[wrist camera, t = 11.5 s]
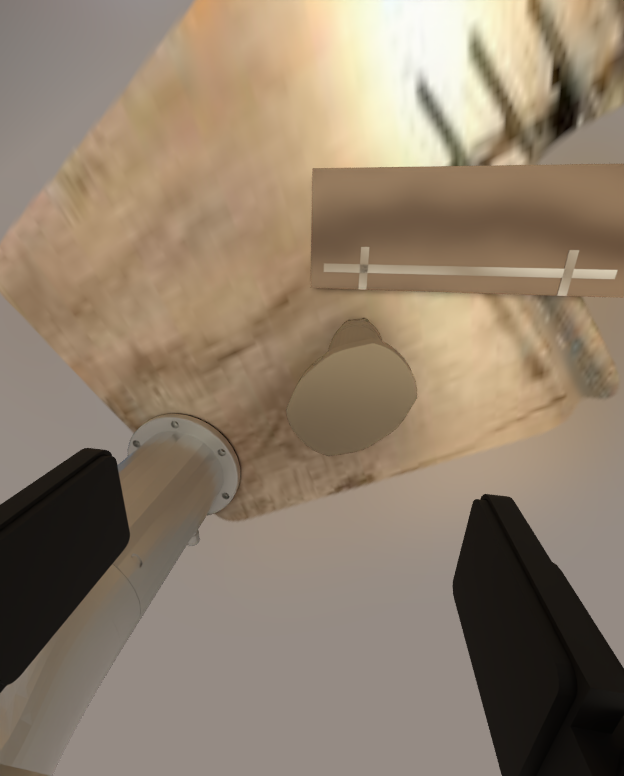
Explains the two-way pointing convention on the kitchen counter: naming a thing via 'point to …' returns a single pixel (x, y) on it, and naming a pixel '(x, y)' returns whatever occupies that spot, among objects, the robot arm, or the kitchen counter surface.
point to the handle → (352, 393)
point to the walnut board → (470, 229)
